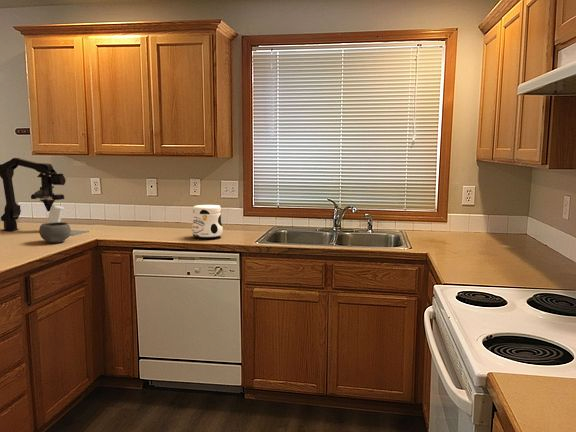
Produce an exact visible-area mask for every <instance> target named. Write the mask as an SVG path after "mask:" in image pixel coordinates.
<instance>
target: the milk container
mask: <svg viewBox="0 0 576 432" xmlns="http://www.w3.org/2000/svg"><path fill="white" fill-rule="evenodd" d="M221 208H222V207H221V205H218V204H198V205H193V211H192V212H193V214H192V215H193V217H192V218H193V222H192V226H191V233H192V235H193V236H194V237H195V238H198V239H216V238H219V237H221V236H222V235H223V231H224V230H223V229H224V227H223V223H222V209H221Z"/></svg>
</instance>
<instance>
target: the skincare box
mask: <svg viewBox="0 0 576 432" xmlns="http://www.w3.org/2000/svg"><path fill="white" fill-rule="evenodd" d="M64 209H65V207H64V206H59V205H52V206H51V209H50V211H49V213H48V217H47V221H46V223H54V222H62V217H63V213H64Z"/></svg>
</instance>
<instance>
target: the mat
mask: <svg viewBox="0 0 576 432" xmlns="http://www.w3.org/2000/svg"><path fill="white" fill-rule="evenodd" d="M70 230H71V231H70V235H69V236H77V235H81V234H85V233H89V230H77V229H70Z"/></svg>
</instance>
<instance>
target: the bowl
mask: <svg viewBox="0 0 576 432" xmlns="http://www.w3.org/2000/svg"><path fill="white" fill-rule="evenodd" d="M71 230H72V229H71V227H70V224H69V223H68V222H63V221H61V222H54V223H47V222H45V223H41V224H40V226H39V231H38V232H39V236H40V238H41V239H42V240H44V241H45V242H48V243H51V244H53V243H54V244H55V243H59V244H60V243H61V242H64V241H66V240H67V239H68V238H69V237H70V236H71V235H70V231H71Z"/></svg>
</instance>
